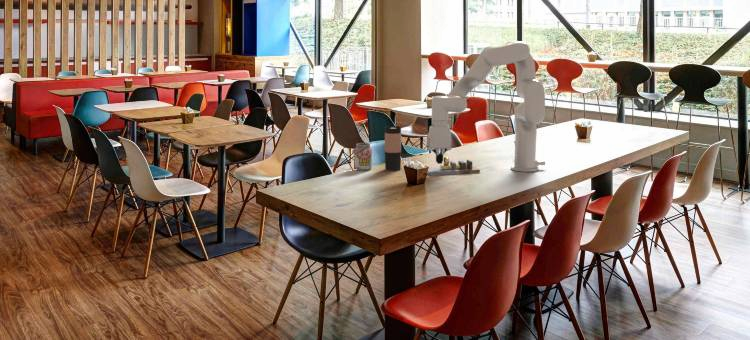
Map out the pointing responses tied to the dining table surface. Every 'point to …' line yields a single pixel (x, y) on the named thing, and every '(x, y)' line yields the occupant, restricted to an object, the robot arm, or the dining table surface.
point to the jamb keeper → (469, 167)
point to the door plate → (443, 170)
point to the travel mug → (392, 148)
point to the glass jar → (363, 156)
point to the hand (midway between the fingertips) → (439, 163)
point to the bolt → (449, 166)
